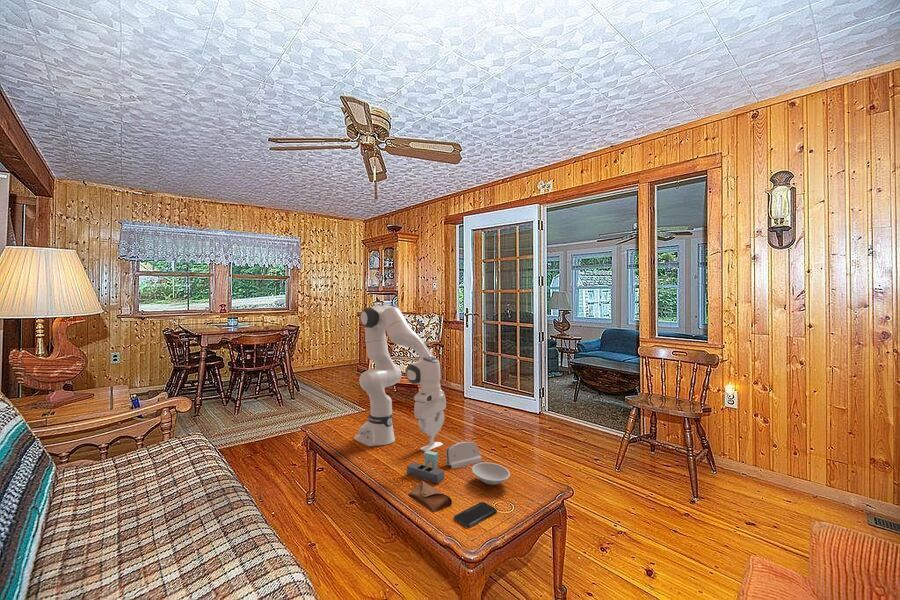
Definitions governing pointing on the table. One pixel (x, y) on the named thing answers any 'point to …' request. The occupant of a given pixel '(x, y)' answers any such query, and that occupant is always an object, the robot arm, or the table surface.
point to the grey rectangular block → (425, 472)
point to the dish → (491, 473)
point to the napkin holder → (462, 454)
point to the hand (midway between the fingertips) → (431, 424)
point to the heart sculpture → (432, 430)
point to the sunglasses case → (430, 496)
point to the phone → (475, 514)
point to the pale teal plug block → (431, 458)
